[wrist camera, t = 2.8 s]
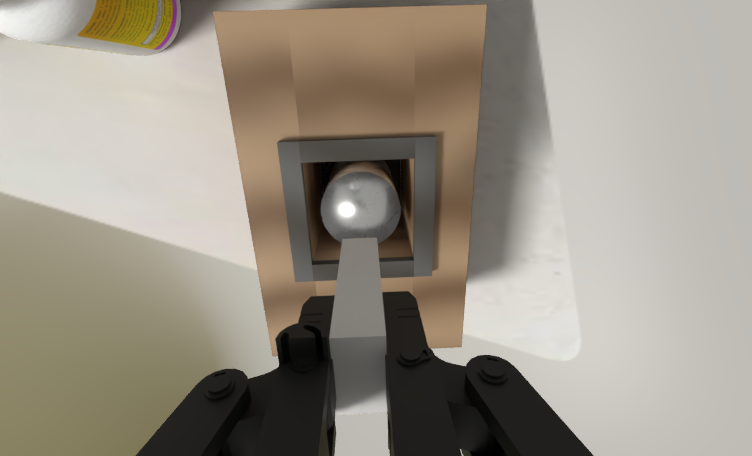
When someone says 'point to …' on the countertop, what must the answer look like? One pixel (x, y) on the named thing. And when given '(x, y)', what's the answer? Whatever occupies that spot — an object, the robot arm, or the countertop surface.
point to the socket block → (357, 144)
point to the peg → (360, 201)
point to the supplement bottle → (94, 24)
